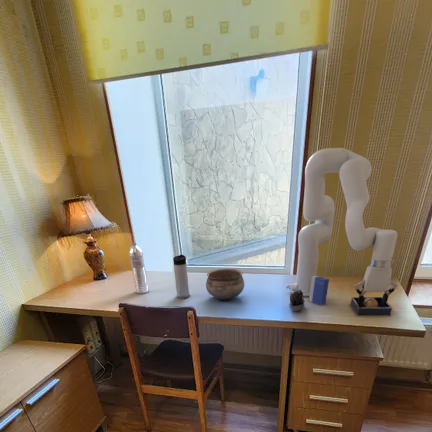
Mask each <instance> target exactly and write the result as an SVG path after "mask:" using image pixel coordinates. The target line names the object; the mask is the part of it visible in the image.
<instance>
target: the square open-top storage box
mask: <svg viewBox="0 0 432 432" xmlns="http://www.w3.org/2000/svg"><path fill="white" fill-rule="evenodd" d="M368 297H369V296H364V299H363V304H362V305H360V304H359V303H358V299H359V296H352V297H351V299H350V304H349V305H350V306H351V308H352V310H353V311H354V312H355V313H356V316H360V317H361V316H362V317H363V316H364V317H365V316H370V317H371V316H391V312H392V309H393V307H392V306H391V305H390V303H388V301H387V302H386V304H385V305H384V304H383V303H382V298H383V296H371V297H372V298H374V299H375V300H376V301H377V302H378V307H364V300H365V299H366V298H368Z"/></svg>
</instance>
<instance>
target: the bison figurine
mask: <svg viewBox="0 0 432 432" xmlns="http://www.w3.org/2000/svg"><path fill="white" fill-rule="evenodd" d="M305 303H306V300H305V299H304V296H303V293H302V291H301V289H300V290H296V291H295V292H292V291H291V292H290V295H289V308H290V309H291V310H292V311H293V312H298V311H300V310H302V309H303V308H305Z"/></svg>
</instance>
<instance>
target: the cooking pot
mask: <svg viewBox="0 0 432 432" xmlns="http://www.w3.org/2000/svg"><path fill="white" fill-rule="evenodd" d="M243 275H244V272H243V271H242V270H240V269H236V268H217V269H212V270H210V271H208V272H206V276H207V277H206V278H207V279H206V282H205V288H206V291H207V292H208V294H209V295H211V297H213V298H215V299H218V300H220V301H230V300H232V299H234V298H236V297H238V296H239V295H240V294H242V292H243V291H244V289H245V279H244V277H243Z"/></svg>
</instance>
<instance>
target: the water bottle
mask: <svg viewBox="0 0 432 432" xmlns="http://www.w3.org/2000/svg"><path fill="white" fill-rule="evenodd" d="M131 244H132V246H131V247H130V249H129V250H128V255H129V260H130V265H131V272H132V278H133V283H134V289H135V293H137V294H142V295H143V294H146V293H149V283H148V278H147V272H146V266H145V261H144V255H143V253H144V252H143V249H141V248H140V247H139V246H138V245H137V242H132V243H131Z"/></svg>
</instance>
